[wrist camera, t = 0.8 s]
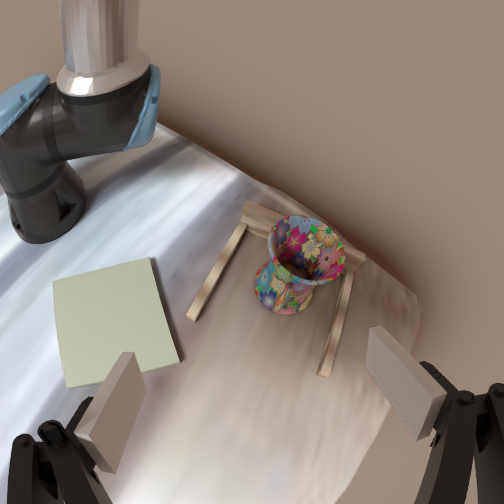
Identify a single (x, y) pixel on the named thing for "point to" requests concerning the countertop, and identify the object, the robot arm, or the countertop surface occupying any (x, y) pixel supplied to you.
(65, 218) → the robot arm
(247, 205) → the mug holder
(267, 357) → the countertop surface
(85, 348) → the board
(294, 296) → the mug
